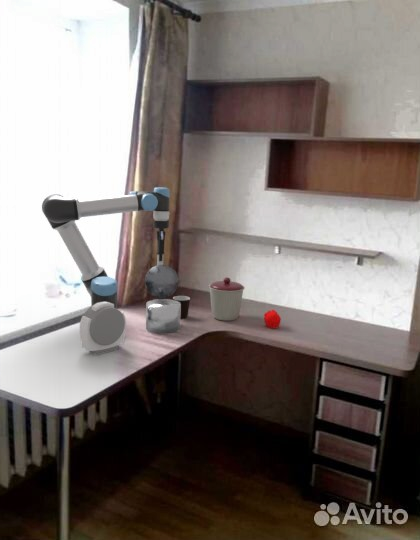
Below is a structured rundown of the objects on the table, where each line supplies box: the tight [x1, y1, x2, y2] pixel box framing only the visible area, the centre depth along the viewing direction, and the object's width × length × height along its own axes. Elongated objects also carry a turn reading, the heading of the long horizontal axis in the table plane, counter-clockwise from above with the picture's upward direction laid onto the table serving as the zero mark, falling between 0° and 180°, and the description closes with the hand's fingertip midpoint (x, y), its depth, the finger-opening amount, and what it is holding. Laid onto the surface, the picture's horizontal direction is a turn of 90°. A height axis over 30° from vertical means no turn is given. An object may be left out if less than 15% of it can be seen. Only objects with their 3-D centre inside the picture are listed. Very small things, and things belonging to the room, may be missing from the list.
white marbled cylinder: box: [145, 298, 181, 335], centre depth 236 cm, size 16×18×12 cm
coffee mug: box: [172, 295, 191, 320], centre depth 255 cm, size 12×9×10 cm
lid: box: [144, 264, 180, 299], centre depth 243 cm, size 16×16×3 cm
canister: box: [208, 277, 246, 322], centre depth 254 cm, size 18×18×21 cm
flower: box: [263, 309, 282, 329], centre depth 244 cm, size 8×8×8 cm
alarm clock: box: [79, 301, 127, 356], centre depth 205 cm, size 18×8×20 cm, turn 133°
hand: (160, 267), depth 250 cm, fingers closed
